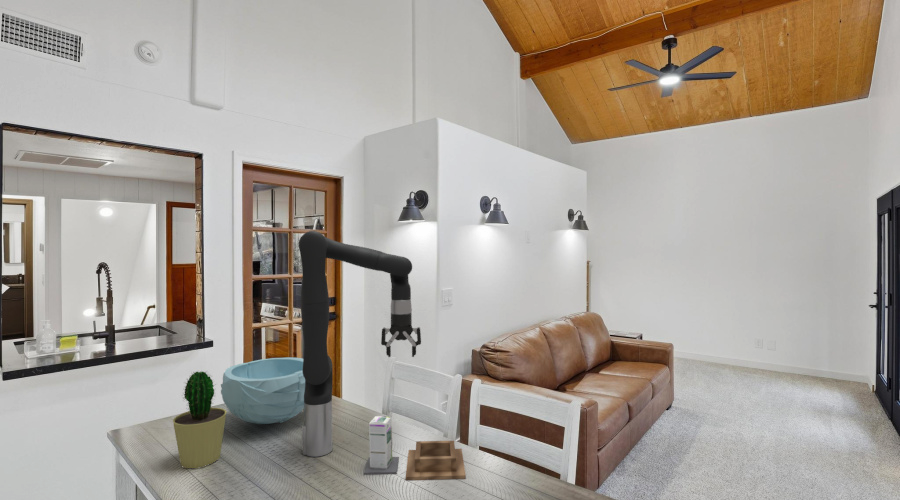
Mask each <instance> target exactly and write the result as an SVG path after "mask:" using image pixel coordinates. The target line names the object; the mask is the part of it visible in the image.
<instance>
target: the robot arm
mask: <svg viewBox="0 0 900 500" xmlns="http://www.w3.org/2000/svg"><path fill="white" fill-rule="evenodd" d="M298 249H299V254H300V259H301V261H300V262H301V270H302V278H301V279H302V280H301V287H300V288H301V289H300V313H301V314H300V315H301V327H302V328H301V329H302V336H303V358H302V359H303V370H302V371H303V376H304V378H305V392H304V408H303V422H304V423H303V425H302V430H301V431H302V434H301V437H302V455H303V456H307V457H315V458H317V457H322V456H325V455H328V454H330V453H331V452H332V451H333V386H334V385H333V375H334V374H333V360H332V358H331V357H330V355H329V354H328V344H327V341H328V340H327V339H328V333H329V324H330V297H329V289H328V281H327V276H326V259H330V260H336V261H340V262H343V263H347V264H351V265H354V266H357V267H359V268H365V269H368V270H372V271H376V272H383V273H386V274H389V277H390V284H391V288H390V289H391V290H390V291H391V292H390V293H391V294H390V297H391V299H390V300H391V301H390V327H389V328H388V327H387V328H386V327H383V328H382V329H381V340H380V341H381V342H380V343H381V346H385V349H386V351H385V353H386V356H387V357H388V358H391V356H392V354H391V353H392V352H391V351H392V349H391V347H392V346H391V344H392V343H393V342H394V341H406V340H408V342H409V343H410V344H411V345H412V346H411V353H412V354H411V357H412V358H414V357H415V356H416V355H417V347H418V346H420V345H421V344H422V336H421V335H422V333H421V327H420V326H417V327H414V328H413V326H412V325H413V324H412V323H413V320H412V318H413V317H412V316H413V315H412V311H413V309H412V295H411V293H412V292H411V289H412V288H411V285H410V282H409V275H410V274H411V272H412V271H413V270H412V269H413V264H412V261H411V260H410V259H409V258H407V257H405V256H400V255H395V254H390V253H386V252H384V251H381V250H376V249H373V248H369V247H363V246H358V245H355V244H354V245H353V244H348V243H344V242H340V241H336V240H334V239H330V238H328V237H326V236H325V235H323V234H322V233H321V232H320V231H316V230H309V231H307V232H305V233H303V234H302V235H301V236H300V238H299V240H298ZM413 332H414V334H415V335H416V339H417V340H415V339H414V338H413V336H412V333H413ZM388 333H390V334H391V337H390V339H388V341H386V336H387V335H388Z"/></svg>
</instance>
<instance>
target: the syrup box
mask: <svg viewBox="0 0 900 500" xmlns="http://www.w3.org/2000/svg"><path fill="white" fill-rule="evenodd" d="M392 429H393V428H392V417H391V416H387V415H375V416H374V417H373V418H372V419H371V420H370V422H369V423H368V435H369V436H368V441H369V444H368V445H369V457H370V467H371V468H378V469H387V468H388V466H389V465H390V463H391V462H392V457H393V437H392V436H393V435H392V434H393V433H392Z"/></svg>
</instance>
